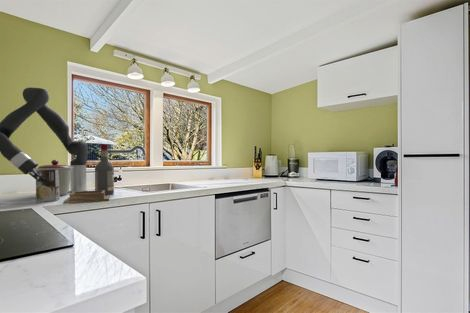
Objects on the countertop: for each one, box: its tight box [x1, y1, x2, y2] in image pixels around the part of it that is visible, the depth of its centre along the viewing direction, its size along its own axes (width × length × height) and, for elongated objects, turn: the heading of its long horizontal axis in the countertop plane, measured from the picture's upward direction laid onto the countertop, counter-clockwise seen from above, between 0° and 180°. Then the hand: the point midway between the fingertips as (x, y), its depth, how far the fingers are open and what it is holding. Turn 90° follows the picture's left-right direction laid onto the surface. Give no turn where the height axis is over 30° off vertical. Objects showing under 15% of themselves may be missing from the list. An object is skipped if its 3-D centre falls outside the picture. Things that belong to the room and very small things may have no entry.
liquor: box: [94, 143, 115, 196], centre depth 165 cm, size 9×9×30 cm
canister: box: [36, 159, 73, 197], centre depth 164 cm, size 18×18×21 cm
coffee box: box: [35, 170, 61, 203], centre depth 144 cm, size 9×6×16 cm
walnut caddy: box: [63, 190, 111, 204], centre depth 146 cm, size 16×20×4 cm
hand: (51, 185), depth 145 cm, fingers closed on coffee box, 7 cm apart
